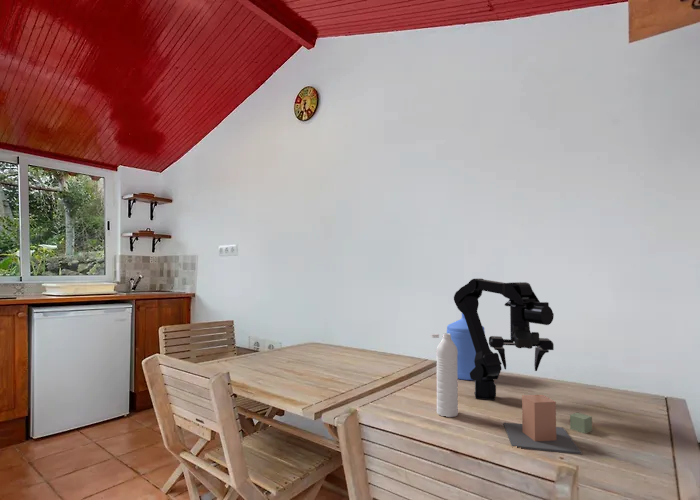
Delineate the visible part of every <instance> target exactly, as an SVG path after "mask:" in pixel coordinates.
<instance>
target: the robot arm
mask: <svg viewBox="0 0 700 500" xmlns="http://www.w3.org/2000/svg"><path fill="white" fill-rule="evenodd" d="M483 292H487V293H495V294H499V295H502V296H503V297H504V298H506V299H508V301H506V302H505V303H504V306H505V307H509V312H510V313H509V315H510V316H509V317H510V318H509V319H510V322H509V323H510V324H509V325H510V327H509V328H510V331H509V332H510V339H509V338H505V339H504V338H503V336H497V335H496V336H495V335H490V336H489V337H488V340H487V337H486V332H485V333H484V331H485V329H484V330H483V327H484V326H483V325H482V322H481V319H480V316H479V313H478V309H479V299H480V298H481V296H482V295H483ZM453 301H454V303H455V305H456V308H457V310H458V311H460V312H461V314H462V313H463V314H464V317H465V320H466V323H467V326H468V329H469V332H470V335H471V338H472V342H473V345H474V348H475V351H476V355H475V360H474V362H475V368H474V369H473V370H472V371H471V372H470V377H471V379H473V380H472V381H474V396H475V397H474V398H475V400H476V399H477V400H478V399H479V400H491V401H495V400H496V397H497V385H496V383H495V380H499V376H500V374H501V372H502V369H503V368H504V370H507V360H506V359H507V358H506V353H505V352H506V351H505V348H504V346H515V347H516V349H517V348H518V349H528V350H529V349H532V348H533V347H535V348H534V371H535V372H537V371H538V369H539V366H540V364H541V361H542V359H543V357H544V355H545V354H546V353H549V352H550V351H554V349H555V348H554V342H553V341H552V340H551V339H549V338H547V337H546V338H545V337H540V333H539V332H537V331H531V327H530V324H536V325H544V326H549V325H551V324H552V323H553V320H554V314H555V313H553V309H552V308H551V307H550V303H549V302H547V301H546V302H545V301H542V302H540V300H539V298H538V297H537V294H536V293H535V292H534V289H533V288H532V286H531V284H530V283H529V282H526V281H525V282H521V281H519V282H518V281H517V282H502V281H494V280H488V279H483V278H472V279H470V280H469V282H468V283H466V284H465V285H463V286H461V287H460V288H459V289H458V290H457V291H456V292H455V293H454V295H453ZM482 326H483V327H482ZM491 348H493V349H494V350H495V351H497V352H493V351H492V350H491ZM502 365H503V368H502Z"/></svg>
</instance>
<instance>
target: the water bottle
mask: <svg viewBox="0 0 700 500" xmlns="http://www.w3.org/2000/svg"><path fill="white" fill-rule="evenodd" d="M430 338H433V339H437V338H440V334H439V333H431V334H430ZM435 350H436V351H435V352H436V414H437V415H438V414H439V415H438V416H441V417H443V416H446V418H455V417H457V416H458V415H459V406H458V404H459V403H458V402H459V401H458V397H459V395H458V394H459V393H458V389H459V388H458V383H459V382H458V381H459V379H458V374H457V372H458V371H457V370H458V369H457V367H458V366H457V355H458V351H457V347H456V346H455V344H454V342H453V341H452V339H451V334H448V333H447V332H446V333H443V334H442V339H441V341H440V342H439V343H438V344H437V347H436V349H435Z"/></svg>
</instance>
